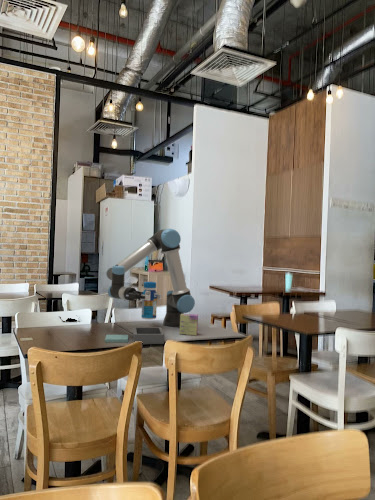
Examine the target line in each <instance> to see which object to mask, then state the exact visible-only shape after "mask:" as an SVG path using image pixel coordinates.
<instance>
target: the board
mask: <svg viewBox="0 0 375 500" xmlns="http://www.w3.org/2000/svg"><path fill="white" fill-rule="evenodd" d="M104 343H129V334H106V336H105V339H104Z"/></svg>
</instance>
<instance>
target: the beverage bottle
mask: <svg viewBox="0 0 375 500" xmlns="http://www.w3.org/2000/svg"><path fill="white" fill-rule="evenodd" d="M143 288H144V289H143V291H142V292H143V293H142V294H143V295H150V301H148V300H141V319H143V320H155V319H157V309H158V308H157V307H158V305H157V304H158V299H157V297H156V296H157V294H158V293H157V291H156V288H157V282H155V281H144V283H143Z"/></svg>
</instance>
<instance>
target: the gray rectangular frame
mask: <svg viewBox="0 0 375 500" xmlns="http://www.w3.org/2000/svg"><path fill="white" fill-rule="evenodd" d="M132 328H133V332H132V333H133V334H132V337H133V339H132V340H133V343H134V342H135V341H142V342H143V344H142V345H164V344H165V333H164V329H163V328H162V327H160V326H159V327H158V326H156V327H154V326H144V327H143V326H135V327H134V326H133V327H132Z"/></svg>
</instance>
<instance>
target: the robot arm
mask: <svg viewBox="0 0 375 500" xmlns="http://www.w3.org/2000/svg"><path fill="white" fill-rule="evenodd" d="M180 243H181V235H180V233H179V232H178V231H177V230H176V229H174V228H164V229H160V230H158V231H157V232H156V233H154V234H153V235H152V236H150V238H148V239H147V242H145V243H144V244H143V245H141V246H140V247H139V248H137V249H136V250H134V251H133V252H132V253H130V254H128V255H127V256H126V257H125V258H123V259H122V260H121V261H119V262H118V263H116V264H115V265H113V266H112V267H110V268H108V269H107V270H106V273H105V275H106V277H107V278H108V279H109V280H110V281H111V285H110V286H109V287H108V289H107V294H108V296H109V297H110V298H113V299H118V300H123V301H129V302H131V301H132V302H133V301H135V300H138V301H140V302H142V300H148V301H150V295H143V294H142V293H143V291H140V290H137V289H136V288H134V287H130V286H125V277H126V275H125V274H126V273H127V272H128V271H129V270H131V269H132V268H134V267H135V266H136V265H138V264H139V263H140V262H141V261H143V260H144V259H146V258H147V257H148V256H150V255H151V254H152V253H154V252H158V251H159V250H161V252H162V253H163V254H164V255H165V259H166V263H167V268H168V272H169V276H170V281H171V286H172V290H168V291H167V292H166V304H165V305H166V309H165V310H166V311H165V316H164V317H163V321H162V322H163V323H162V324H163V326H166V327H176V328H177V327H179V328H180V315H181V314H189V313H190V312H191V311H192V310H193V309H194V307H195V305H196V302H195V298H194V297H193V296H192V295H191V291H190V288H188V287H187V283H186V279H185V275H184V274H185V273H184V271H183V270H184V269H183V265H182V261H181V256H180V253H179V251H180V249H181V245H180ZM156 297H157V300H162V293H161V294H160V293H157V296H156Z"/></svg>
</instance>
